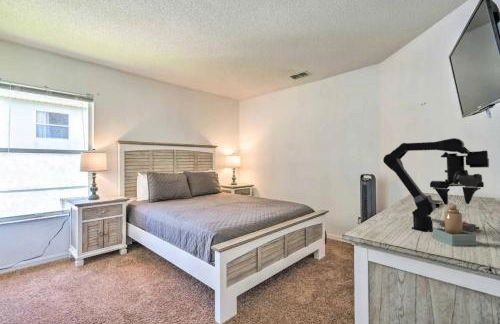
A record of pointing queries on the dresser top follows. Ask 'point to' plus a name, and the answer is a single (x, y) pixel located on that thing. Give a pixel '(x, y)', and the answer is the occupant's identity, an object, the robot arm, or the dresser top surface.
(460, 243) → the u rest
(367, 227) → the dresser top surface
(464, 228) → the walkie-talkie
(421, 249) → the dresser top surface
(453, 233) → the bottle
